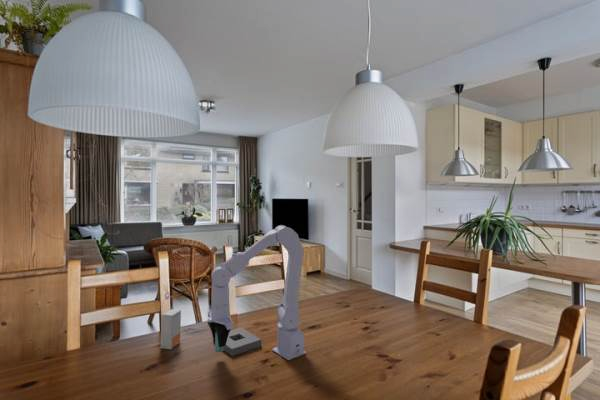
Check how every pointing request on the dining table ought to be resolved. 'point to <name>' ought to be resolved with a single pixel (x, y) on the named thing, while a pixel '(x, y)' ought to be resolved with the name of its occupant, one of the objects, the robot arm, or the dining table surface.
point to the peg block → (241, 341)
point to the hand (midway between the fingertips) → (219, 344)
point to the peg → (217, 348)
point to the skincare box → (170, 328)
